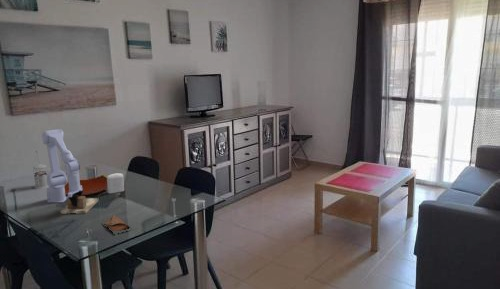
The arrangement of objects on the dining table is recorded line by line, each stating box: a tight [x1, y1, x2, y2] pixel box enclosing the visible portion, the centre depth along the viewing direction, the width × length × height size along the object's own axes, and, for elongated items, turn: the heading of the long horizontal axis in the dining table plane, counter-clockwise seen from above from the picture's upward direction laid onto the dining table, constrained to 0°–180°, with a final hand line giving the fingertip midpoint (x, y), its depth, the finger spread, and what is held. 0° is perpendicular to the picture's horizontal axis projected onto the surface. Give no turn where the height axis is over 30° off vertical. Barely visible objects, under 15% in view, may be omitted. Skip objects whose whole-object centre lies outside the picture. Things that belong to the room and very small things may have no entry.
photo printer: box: [106, 172, 125, 194], centre depth 244 cm, size 10×4×12 cm, turn 123°
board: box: [59, 197, 99, 215], centre depth 221 cm, size 14×19×2 cm
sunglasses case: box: [103, 214, 131, 231], centre depth 195 cm, size 18×7×7 cm, turn 42°
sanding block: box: [66, 195, 86, 209], centre depth 216 cm, size 9×4×6 cm, turn 91°
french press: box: [32, 150, 49, 190], centre depth 253 cm, size 10×12×25 cm
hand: (76, 204), depth 217 cm, fingers closed on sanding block, 4 cm apart
